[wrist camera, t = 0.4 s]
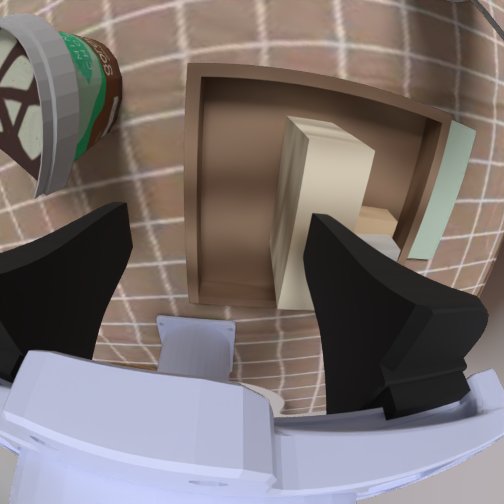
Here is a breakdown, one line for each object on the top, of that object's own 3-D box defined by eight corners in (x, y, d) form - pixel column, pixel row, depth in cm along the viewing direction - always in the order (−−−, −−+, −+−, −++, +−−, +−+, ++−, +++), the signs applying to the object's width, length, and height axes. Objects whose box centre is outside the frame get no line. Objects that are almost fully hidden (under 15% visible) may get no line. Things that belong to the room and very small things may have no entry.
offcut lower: (360, 283, 25) (366, 298, 23) (319, 282, 24) (323, 298, 23) (387, 209, 20) (397, 222, 19) (340, 203, 20) (348, 216, 18)
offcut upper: (369, 295, 23) (376, 312, 21) (327, 297, 23) (332, 315, 21) (389, 234, 19) (400, 250, 18) (342, 233, 19) (350, 249, 18)
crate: (373, 289, 26) (382, 309, 24) (193, 280, 25) (189, 302, 23) (431, 108, 16) (452, 115, 14) (196, 65, 15) (187, 63, 13)
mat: (429, 256, 24) (431, 259, 24) (390, 253, 24) (392, 256, 23) (472, 129, 17) (476, 131, 16) (432, 112, 16) (436, 113, 16)
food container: (176, 75, 15) (109, 79, 7) (123, 143, 18) (42, 205, 10) (63, 1, 10) (-31, -10, 2) (23, 66, 13) (-71, 91, 5)
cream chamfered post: (307, 244, 22) (327, 310, 16) (269, 242, 22) (277, 309, 16) (332, 122, 17) (375, 150, 11) (286, 115, 17) (309, 139, 11)
